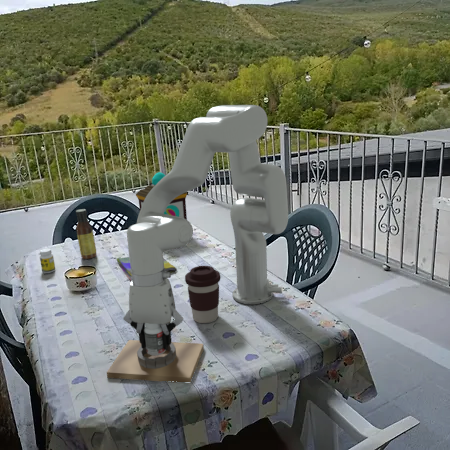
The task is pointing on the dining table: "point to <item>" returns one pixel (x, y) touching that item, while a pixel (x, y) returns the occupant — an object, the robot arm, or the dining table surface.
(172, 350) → the ring jig
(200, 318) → the coffee cup
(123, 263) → the dish towel
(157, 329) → the pill bottle
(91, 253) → the sauce bottle
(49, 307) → the dining table surface
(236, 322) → the dining table surface
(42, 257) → the supplement bottle
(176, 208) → the decorative lantern
